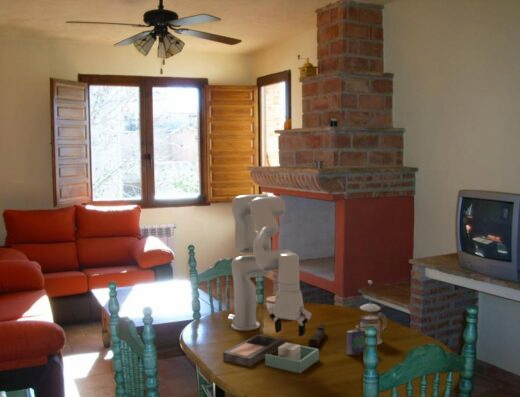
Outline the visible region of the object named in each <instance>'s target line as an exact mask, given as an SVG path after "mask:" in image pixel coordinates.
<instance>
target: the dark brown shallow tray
mask: <svg viewBox="0 0 520 397" xmlns="http://www.w3.org/2000/svg"><path fill="white" fill-rule="evenodd" d="M284 341H285V339H284V338H280V337H275V336H270V335H266V334H265V335H264V334H260V333H257V334H255V335H254V336H252V337H250V338H247V339H246V340H244V341H242V342H240V343H238V344H236V345H234V346H233V347H231V348H229V349H227V350H225V351H223V352H222V356H223V358H222V360H223V361H225V362H228V363H229V362H230V363H232V364H233V363H234V364H238V365H243V366H246V367H247V366H248V367H252V366H254V365H255V364H257V363H259V362H261V361H262V360H264V359H265V354H269V355H273V354H274V353H275V352H278V347H280V346H281V345H283V344H284V343H285V342H284Z"/></svg>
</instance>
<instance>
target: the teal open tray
mask: <svg viewBox="0 0 520 397" xmlns="http://www.w3.org/2000/svg"><path fill="white" fill-rule="evenodd" d="M285 343H286V342H284V344H285ZM264 359H265V360H264V364H265V366H267V367H271V368H276V369H279V370H284V371H288V372H293V373H298V374H301V373H303V372H304V371H305V370H307V369H308V368H310V367H311V366H313V365H314V364H315V363H316V362H318V361H319V360H320V350H319V348H310V347H309V346H304V345H301V360H300V361H297V360H292V359H288V358H283V357H279V356H277V355H273V354H270V355H269V354H265V358H264Z"/></svg>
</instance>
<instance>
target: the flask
mask: <svg viewBox="0 0 520 397" xmlns="http://www.w3.org/2000/svg"><path fill="white" fill-rule="evenodd" d="M365 328H366V327H365ZM365 328H361V327H359V324H356V325H355V328H354V329H351V330H347V331H346V354H347V355H348V356H354V355H355V356H356V355H361V353H363V352H364V350H365V335H364V330H365ZM363 354H364V353H363Z"/></svg>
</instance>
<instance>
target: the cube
mask: <svg viewBox="0 0 520 397" xmlns="http://www.w3.org/2000/svg"><path fill="white" fill-rule="evenodd" d="M284 343H285V344H283V345H281V346H280V347H278V350H277V352H278V354H277V355H278V356H279V357H283V358H288V359H292V360H297V361H300V360H301V359H302V357H301V346H302V345H300V344H296V343H290V342H284Z"/></svg>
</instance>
